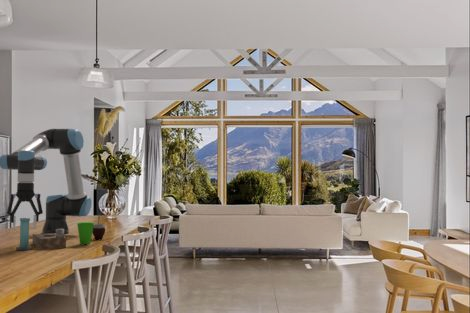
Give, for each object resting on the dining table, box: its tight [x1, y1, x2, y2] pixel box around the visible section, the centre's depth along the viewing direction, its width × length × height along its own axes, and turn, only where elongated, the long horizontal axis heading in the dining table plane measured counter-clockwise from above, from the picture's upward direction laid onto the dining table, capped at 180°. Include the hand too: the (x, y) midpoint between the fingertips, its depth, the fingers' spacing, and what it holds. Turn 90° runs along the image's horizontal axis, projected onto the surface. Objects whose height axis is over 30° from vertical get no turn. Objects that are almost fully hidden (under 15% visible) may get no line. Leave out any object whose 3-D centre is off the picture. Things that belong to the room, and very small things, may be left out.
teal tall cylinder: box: [19, 217, 31, 248], centre depth 261 cm, size 5×5×14 cm
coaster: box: [15, 246, 33, 252], centre depth 261 cm, size 7×7×1 cm
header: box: [31, 229, 67, 250], centre depth 275 cm, size 12×20×9 cm, turn 32°
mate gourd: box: [92, 213, 106, 240], centre depth 302 cm, size 8×8×15 cm
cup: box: [76, 221, 96, 245], centre depth 283 cm, size 9×9×11 cm
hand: (24, 229), depth 261 cm, fingers open, 9 cm apart
